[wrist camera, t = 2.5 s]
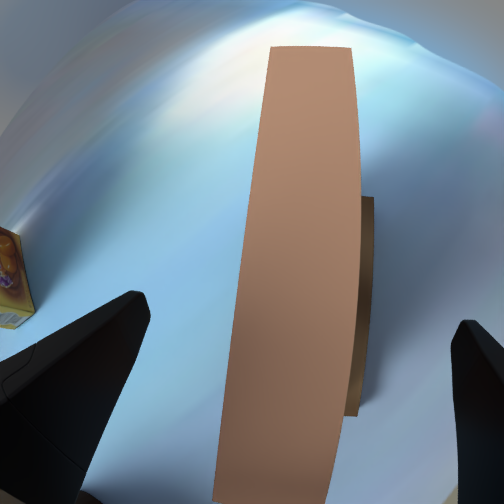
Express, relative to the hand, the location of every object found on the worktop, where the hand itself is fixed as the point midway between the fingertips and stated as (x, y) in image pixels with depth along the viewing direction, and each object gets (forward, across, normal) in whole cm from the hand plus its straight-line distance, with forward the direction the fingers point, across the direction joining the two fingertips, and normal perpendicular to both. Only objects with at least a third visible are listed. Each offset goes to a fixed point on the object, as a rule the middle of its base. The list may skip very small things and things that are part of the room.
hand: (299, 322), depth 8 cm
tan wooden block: (+4, 0, +1) cm, 4 cm away
